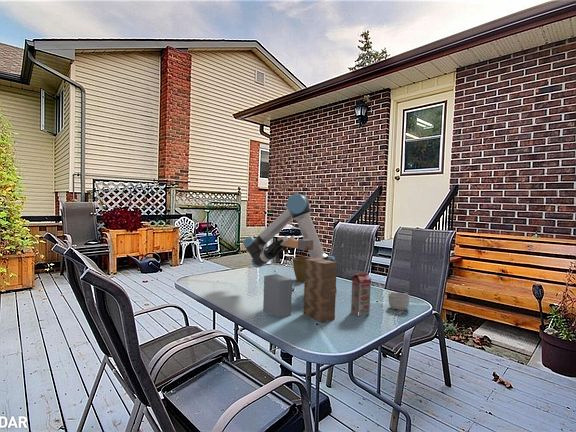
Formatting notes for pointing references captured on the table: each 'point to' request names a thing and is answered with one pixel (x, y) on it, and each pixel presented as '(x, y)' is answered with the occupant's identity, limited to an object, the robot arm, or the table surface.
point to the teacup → (399, 300)
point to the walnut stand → (320, 289)
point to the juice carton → (361, 294)
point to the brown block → (298, 243)
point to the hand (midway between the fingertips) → (290, 237)
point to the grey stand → (277, 295)
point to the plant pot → (299, 268)
